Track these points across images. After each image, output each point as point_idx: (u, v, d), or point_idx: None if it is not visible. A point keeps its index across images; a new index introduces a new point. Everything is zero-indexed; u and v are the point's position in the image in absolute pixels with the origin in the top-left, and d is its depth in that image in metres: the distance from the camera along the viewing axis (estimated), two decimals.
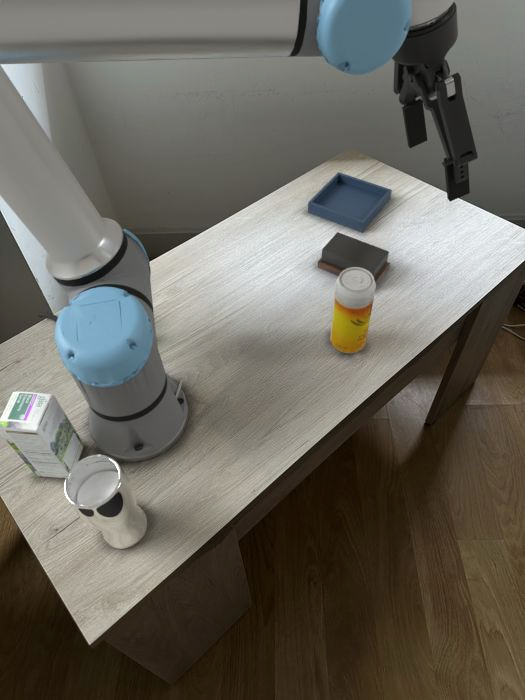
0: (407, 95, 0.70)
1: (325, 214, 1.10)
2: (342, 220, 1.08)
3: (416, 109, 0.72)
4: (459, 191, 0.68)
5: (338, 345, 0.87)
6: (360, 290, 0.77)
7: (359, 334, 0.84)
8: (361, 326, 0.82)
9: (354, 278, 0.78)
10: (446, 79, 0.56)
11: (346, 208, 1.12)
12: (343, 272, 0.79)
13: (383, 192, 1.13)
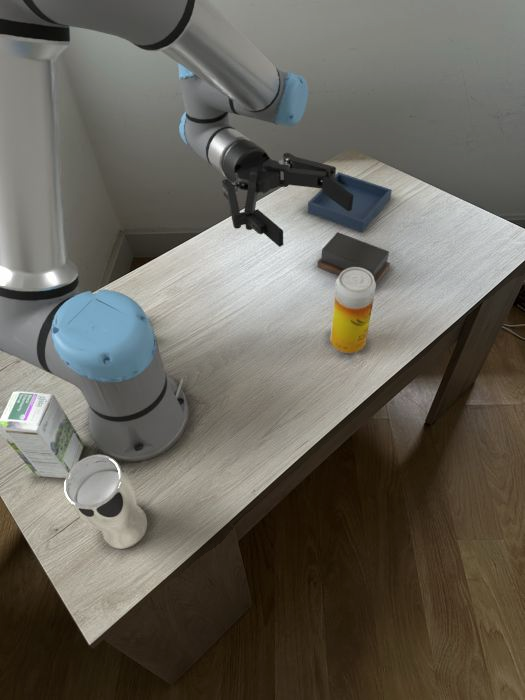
0: (253, 201, 0.81)
1: (325, 214, 1.10)
2: (342, 220, 1.08)
3: None
4: None
5: (338, 345, 0.87)
6: (360, 290, 0.77)
7: (359, 334, 0.84)
8: (361, 326, 0.82)
9: (354, 278, 0.78)
10: None
11: None
12: (343, 272, 0.79)
13: (383, 192, 1.13)
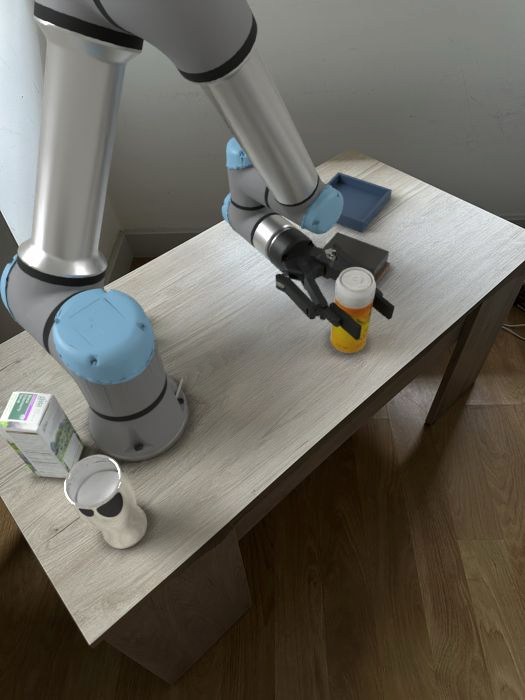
0: (320, 292, 0.83)
1: None
2: (342, 220, 1.08)
3: None
4: None
5: (338, 345, 0.87)
6: (360, 290, 0.77)
7: None
8: None
9: (354, 278, 0.78)
10: None
11: (346, 208, 1.12)
12: (343, 272, 0.79)
13: (383, 192, 1.13)
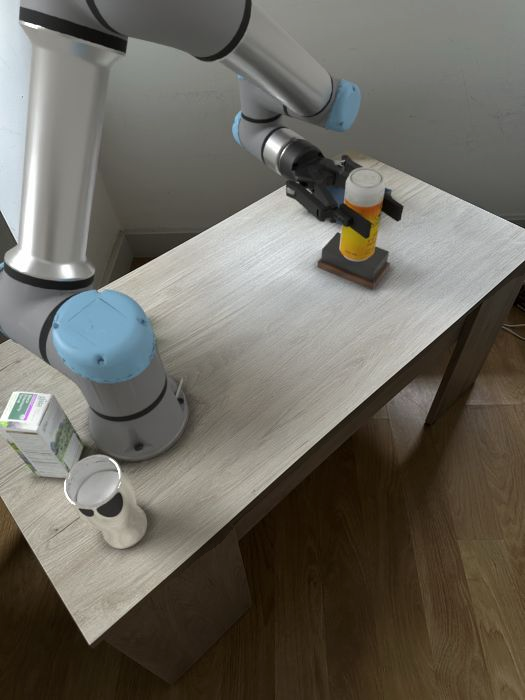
0: None
1: None
2: None
3: None
4: None
5: (347, 251, 0.88)
6: (370, 186, 0.78)
7: (368, 238, 0.85)
8: (371, 228, 0.84)
9: (364, 176, 0.80)
10: None
11: None
12: (353, 172, 0.81)
13: None
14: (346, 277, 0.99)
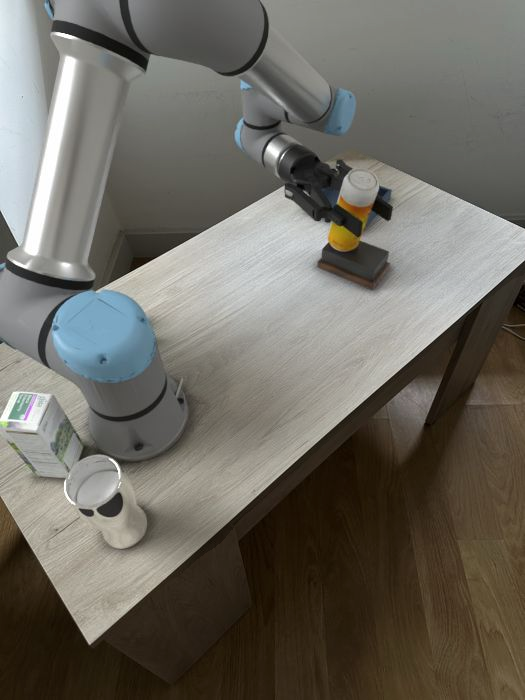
0: (325, 197, 0.91)
1: None
2: None
3: None
4: None
5: (334, 242, 0.95)
6: (365, 189, 0.85)
7: None
8: None
9: (361, 178, 0.86)
10: None
11: None
12: (351, 171, 0.87)
13: (383, 192, 1.13)
14: (346, 277, 0.99)
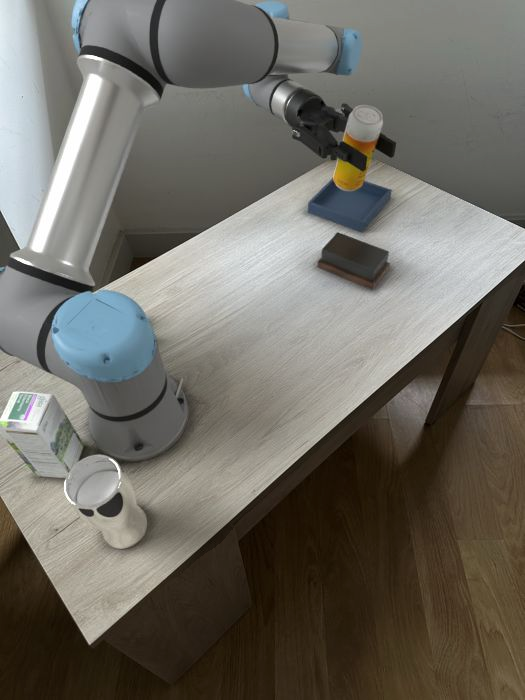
0: None
1: (325, 214, 1.10)
2: (342, 220, 1.08)
3: None
4: None
5: (340, 181, 0.99)
6: (370, 123, 0.89)
7: (360, 170, 0.96)
8: None
9: (365, 113, 0.90)
10: None
11: (346, 208, 1.12)
12: (356, 108, 0.91)
13: (383, 192, 1.13)
14: (346, 277, 0.99)
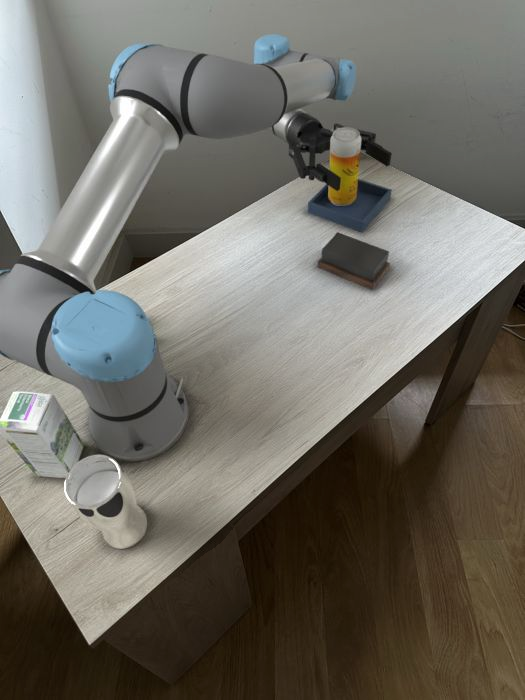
0: None
1: (325, 214, 1.10)
2: (342, 220, 1.08)
3: None
4: None
5: (334, 197, 1.11)
6: None
7: (349, 184, 1.08)
8: (351, 176, 1.06)
9: (344, 133, 1.03)
10: None
11: (346, 208, 1.12)
12: (336, 131, 1.04)
13: (383, 192, 1.13)
14: (346, 277, 0.99)
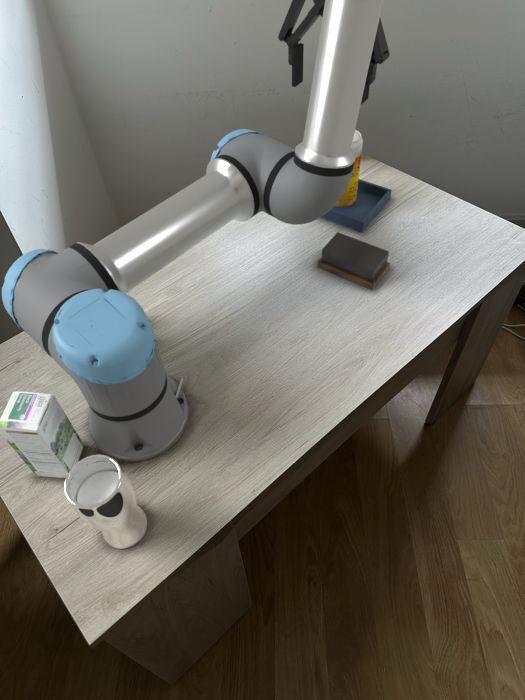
0: (301, 34, 0.89)
1: (325, 214, 1.10)
2: (342, 220, 1.08)
3: (300, 50, 0.93)
4: (365, 95, 0.91)
5: None
6: None
7: (350, 186, 1.08)
8: (351, 178, 1.06)
9: None
10: None
11: (346, 208, 1.12)
12: None
13: (383, 192, 1.13)
14: (346, 277, 0.99)
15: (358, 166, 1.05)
